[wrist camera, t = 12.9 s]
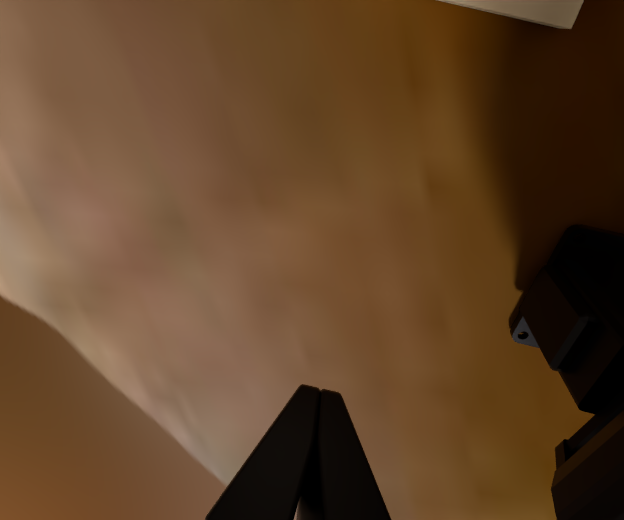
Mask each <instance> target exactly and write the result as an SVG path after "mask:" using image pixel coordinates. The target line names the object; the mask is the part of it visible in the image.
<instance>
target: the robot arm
mask: <svg viewBox="0 0 624 520" xmlns="http://www.w3.org/2000/svg"><path fill="white" fill-rule="evenodd" d="M577 234H582V236H581V237H580V238H579V239H577V240H573V238H574V237H575V236H576V235H577ZM519 310H520V313H519V315H518V316H517V318H516V320H515V322H514V324H513V325H512V327H511V330H510V333H511V336H512V338H513V340H514V341H515V342H517V343H521V344H525V345H529V346H534V347H538V348H540V349H541V351H542V353H543V355H544V357H545V359H546V361H547V362H548V364H549V366H550V368H551V369H552V370H554V371H558V372H559V374H560V375H561V377H562V379H563V381H564V383H565V384H566V386H567V388H568V390H569V392H570V394H571V395H572V397H573V399H574V401H575V403H576V404H577V406H578V408H579V410H581V411H584V412H588V413H593V414H595V415H594V416H593V417H592V418H591V419H590V420H589V421H588V422H587V423H586V424H585V425H584V426H582V427H581V428H580V429H579V430H578V431H577V432H576V433H575V434H574V435H573V436H572V437H571V438H570V439H568V440H566V439H564V440H563V441H562V442H561V443H560V444H559V445H558V446H557V447H555V455H556V468H557V470H556V471H555V474H554V478H553V483H552V487H551V491H552V497H553V502H554V508H555V513H556V517H557V520H624V234H619V233H615V232H611V231H606V230H602V229H598V228H593V227H589V226H585V225H573V226H571V227H569V228H568V229H567V230H566V231H565V232H564V234H563V236H562V238H561V239H560V241H559V243H558V245H557V247H556V248H555V250H554V252H553V254H552V256H551V257H550V259H549V261H548V263H547V264H546V265H545V266H543V267H542V268H541V270H540V272H539V274H538V275H537V277H536V279H535V281H534V283H533V284H532V286H531V288H530V290H529V292H528V293H527V295H526V297H525V299H524V301H523V302H522V304H521V306H520V308H519ZM522 331H525V333H524V334H519V333H520V332H522ZM297 505H298V506H297ZM296 509H297V520H391V518H390V515H389V513H388V510H387V508H386V505H385V503H384V500H383V498H382V495H381V493H380V490H379V488H378V485H377V483H376V480H375V478H374V475H373V473H372V470H371V468H370V465H369V463H368V460H367V458H366V455H365V453H364V450H363V448H362V445H361V443H360V440H359V438H358V435H357V433H356V430H355V428H354V425H353V423H352V420H351V418H350V415H349V413H348V410H347V408H346V405H345V403H344V400H343V398H342V396H341V394H340V393H338V392H335V391H330V390H326V389H322V390H321V391H320V390H319V388H317V387H313V386H309V385H304V384H302V385H300V386H299V387H298V389H297V390H296V392H295V393H294V394H293V396H292V397H291V399H290V400H289V401H288V403H287V404H286V405H285V407H284V408H283V410H282V411H281V412H280V414H279V415H278V417H277V418H276V419H275V421H274V422H273V424H272V425H271V426H270V428H269V429H268V431H267V432H266V433H265V435H264V436H263V438H262V439H261V440H260V442H259V443H258V445H257V446H256V447H255V449H254V450H253V452H252V453H251V454H250V456H249V457H248V459H247V460H246V461H245V463H244V464H243V465H242V467H241V468H240V470H239V471H238V472H237V474H236V475H235V477H234V478H233V479H232V481H231V482H230V484H229V485H228V486H227V488H226V489H225V491H224V492H223V493H222V495H221V496H220V498H219V499H218V501H217V502H216V504H215V505H214V506H213V507H212V509H211V510H210V512H209V513H208V514H207V516H206V518H205V520H293V519H294V516H295V512H296Z"/></svg>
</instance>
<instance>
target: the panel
mask: <svg viewBox="0 0 624 520" xmlns="http://www.w3.org/2000/svg"><path fill="white" fill-rule="evenodd" d="M438 1H442V2H447V3H451V4H455V5H460V6H464V7H468V8H473V9H477V10H481V11H486V12H490V13H494V14H499V15H503V16H507V17H512V18H516V19H520V20H525V21H529V22H533V23H538V24H542V25H546V26H551V27H555V28H559V29H571V28H572V26H573V24H574V22H575V19H576V17H577V15H578V13H579V10H580V8H581V6H582V4H583V2H584V0H438Z"/></svg>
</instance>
